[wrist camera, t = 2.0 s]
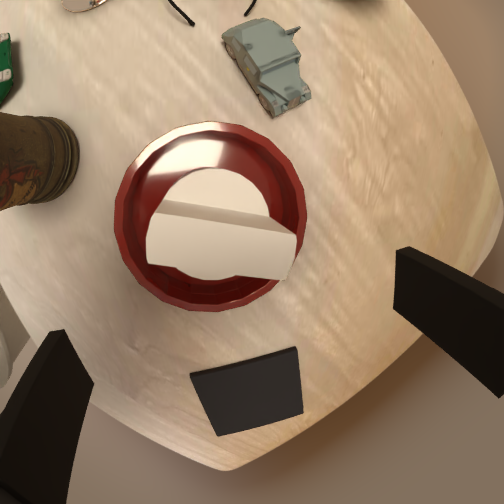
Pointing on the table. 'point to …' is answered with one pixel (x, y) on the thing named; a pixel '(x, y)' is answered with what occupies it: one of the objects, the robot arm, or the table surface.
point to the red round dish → (180, 163)
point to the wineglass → (80, 4)
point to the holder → (251, 392)
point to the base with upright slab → (218, 229)
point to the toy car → (269, 63)
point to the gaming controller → (5, 65)
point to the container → (35, 159)
